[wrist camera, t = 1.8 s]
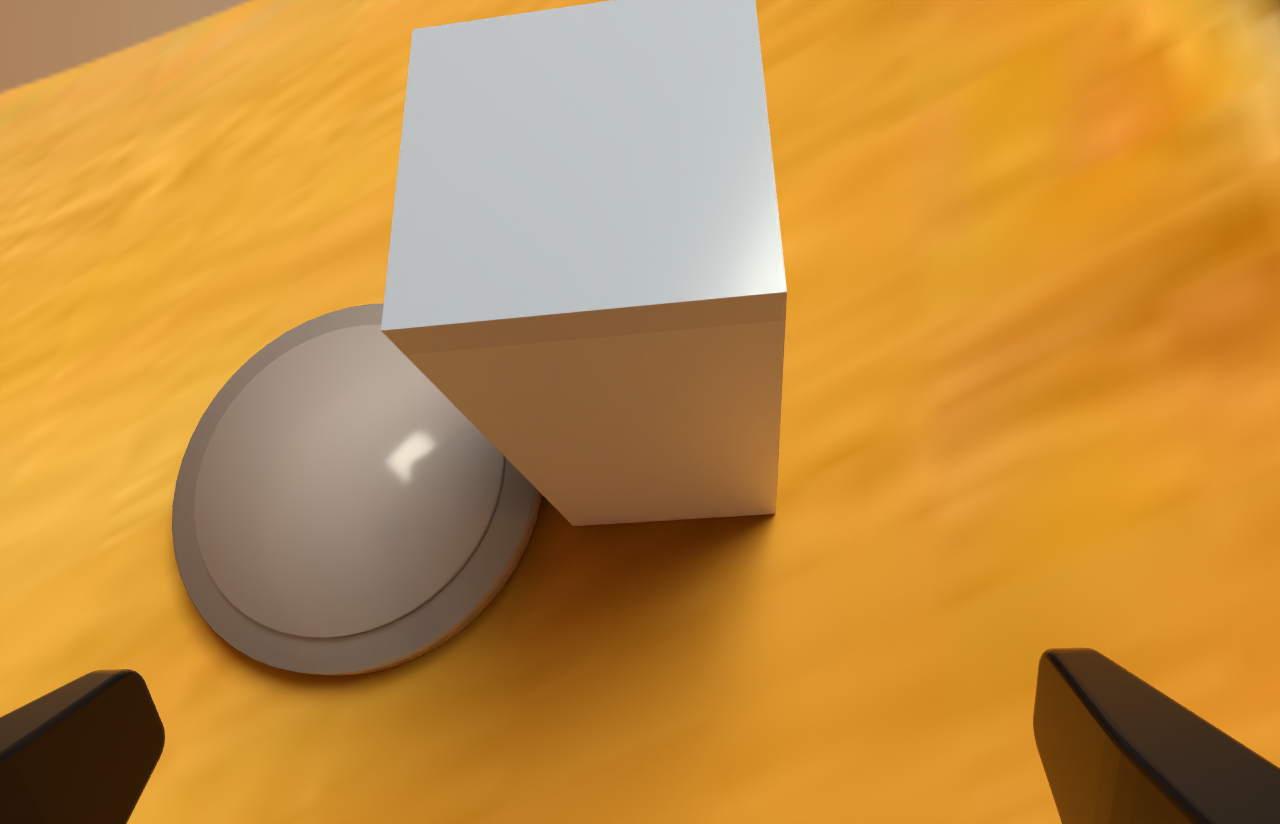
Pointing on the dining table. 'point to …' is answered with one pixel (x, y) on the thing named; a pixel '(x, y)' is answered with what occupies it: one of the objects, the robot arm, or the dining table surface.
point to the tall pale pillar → (598, 252)
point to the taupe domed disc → (343, 505)
